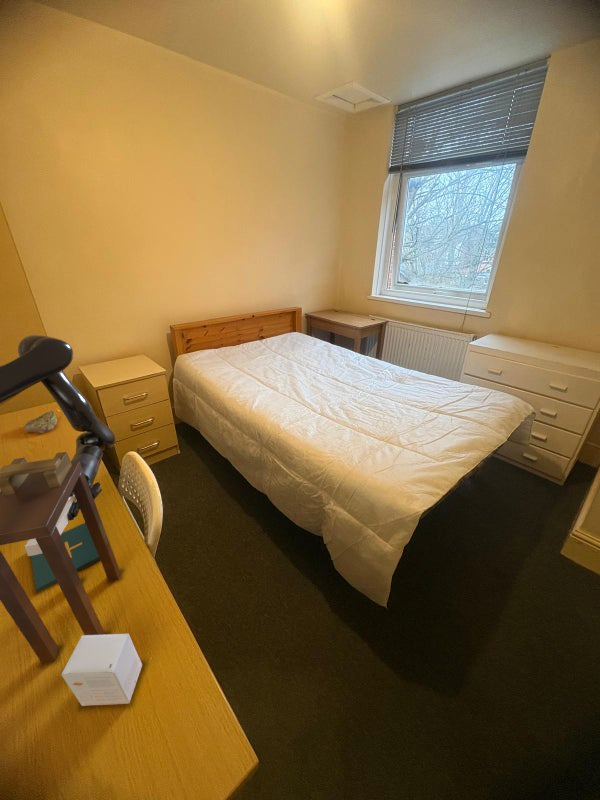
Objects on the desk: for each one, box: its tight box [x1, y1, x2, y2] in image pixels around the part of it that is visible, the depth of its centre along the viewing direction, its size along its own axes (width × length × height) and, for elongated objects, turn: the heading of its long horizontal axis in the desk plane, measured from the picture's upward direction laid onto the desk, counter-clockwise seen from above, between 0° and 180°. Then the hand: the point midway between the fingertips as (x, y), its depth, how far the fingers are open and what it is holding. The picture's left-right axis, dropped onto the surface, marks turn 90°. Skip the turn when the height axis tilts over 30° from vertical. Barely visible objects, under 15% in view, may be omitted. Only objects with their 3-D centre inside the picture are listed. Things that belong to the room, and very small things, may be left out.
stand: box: [0, 451, 121, 665], centre depth 58 cm, size 10×16×36 cm, turn 17°
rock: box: [23, 410, 58, 434], centre depth 130 cm, size 13×10×4 cm
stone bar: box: [24, 496, 74, 557], centre depth 73 cm, size 4×17×2 cm, turn 17°
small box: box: [60, 633, 143, 707], centre depth 53 cm, size 8×6×10 cm
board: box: [30, 522, 101, 593], centre depth 78 cm, size 14×14×1 cm
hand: (58, 519), depth 75 cm, fingers closed on stone bar, 4 cm apart
